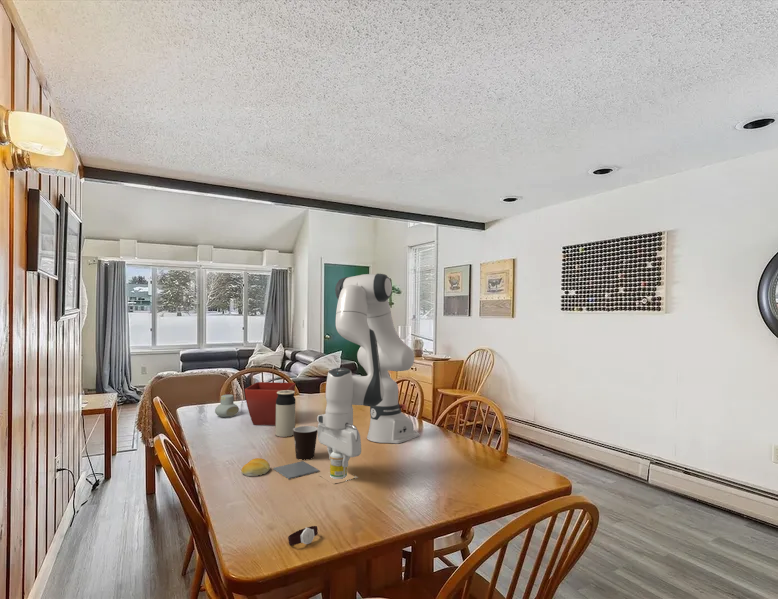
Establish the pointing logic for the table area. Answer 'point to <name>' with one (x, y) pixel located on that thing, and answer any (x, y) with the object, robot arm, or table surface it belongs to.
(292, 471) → the slate coaster
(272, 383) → the plant pot
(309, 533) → the watch
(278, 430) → the travel mug
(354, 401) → the robot arm
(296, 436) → the coffee mug
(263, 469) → the bread roll
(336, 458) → the supplement bottle
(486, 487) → the table surface
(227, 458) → the table surface
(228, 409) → the air freshener
